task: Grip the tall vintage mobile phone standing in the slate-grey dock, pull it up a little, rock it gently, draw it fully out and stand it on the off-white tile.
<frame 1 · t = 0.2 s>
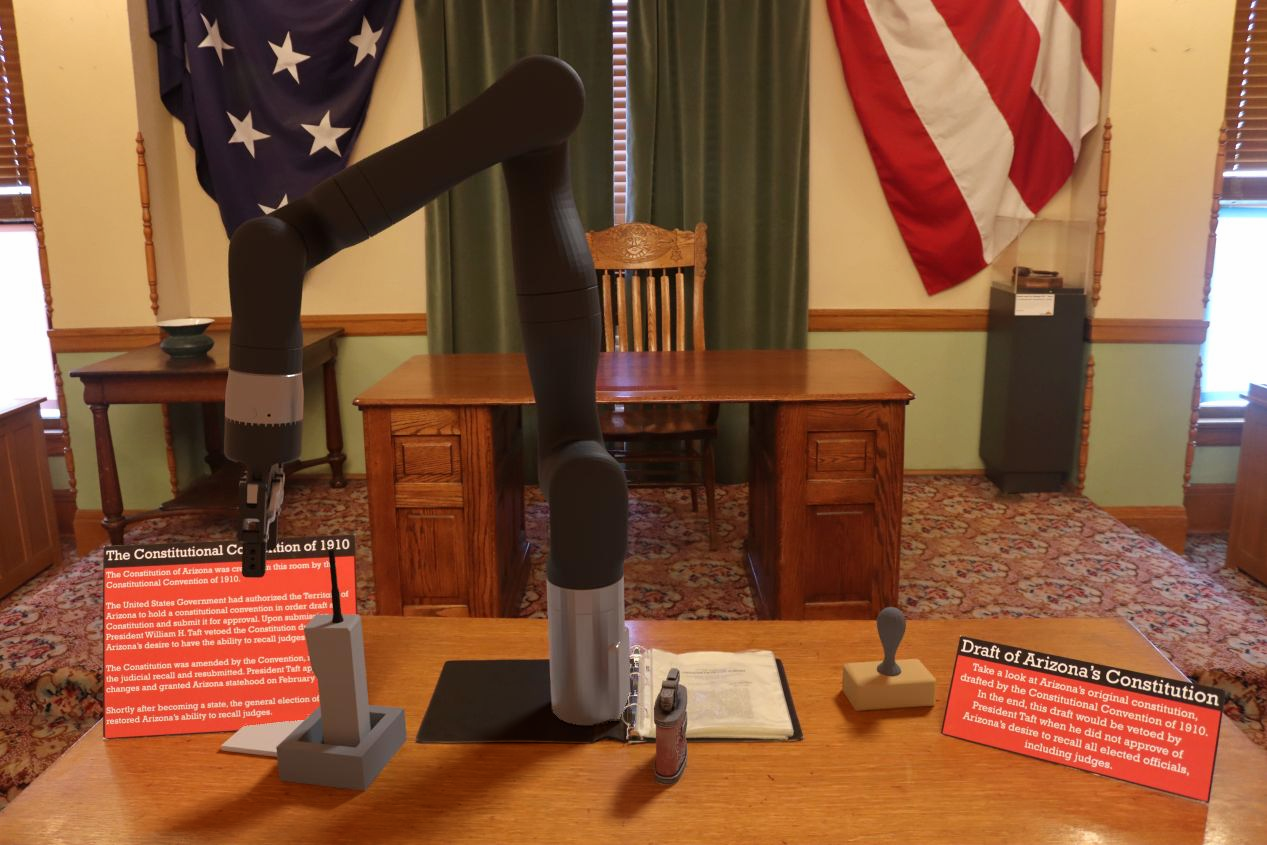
hand: (260, 562, 99), 24 cm above the table, tool pointing down, fingers open, 8 cm apart
lighter: (671, 765, 102), on the table
tile: (273, 735, 109), on the table
rubber stamp: (887, 699, 115), on the table
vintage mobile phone: (345, 761, 104), resting in dock
dock: (345, 759, 104), on the table
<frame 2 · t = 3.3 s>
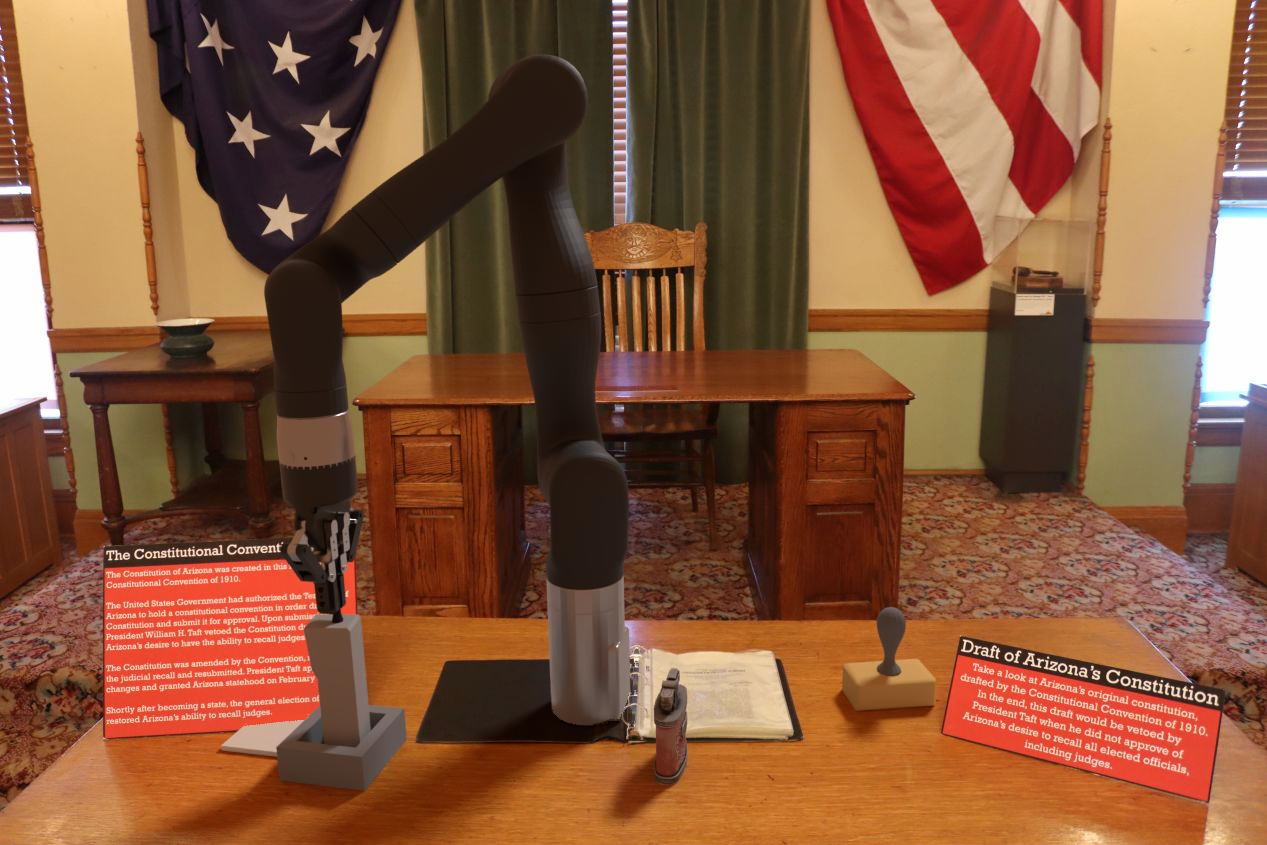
hand: (332, 609, 100), 18 cm above the table, tool pointing down, fingers closed on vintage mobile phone
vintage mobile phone: (345, 760, 104), resting in dock, touching gripper
everything else where it was.
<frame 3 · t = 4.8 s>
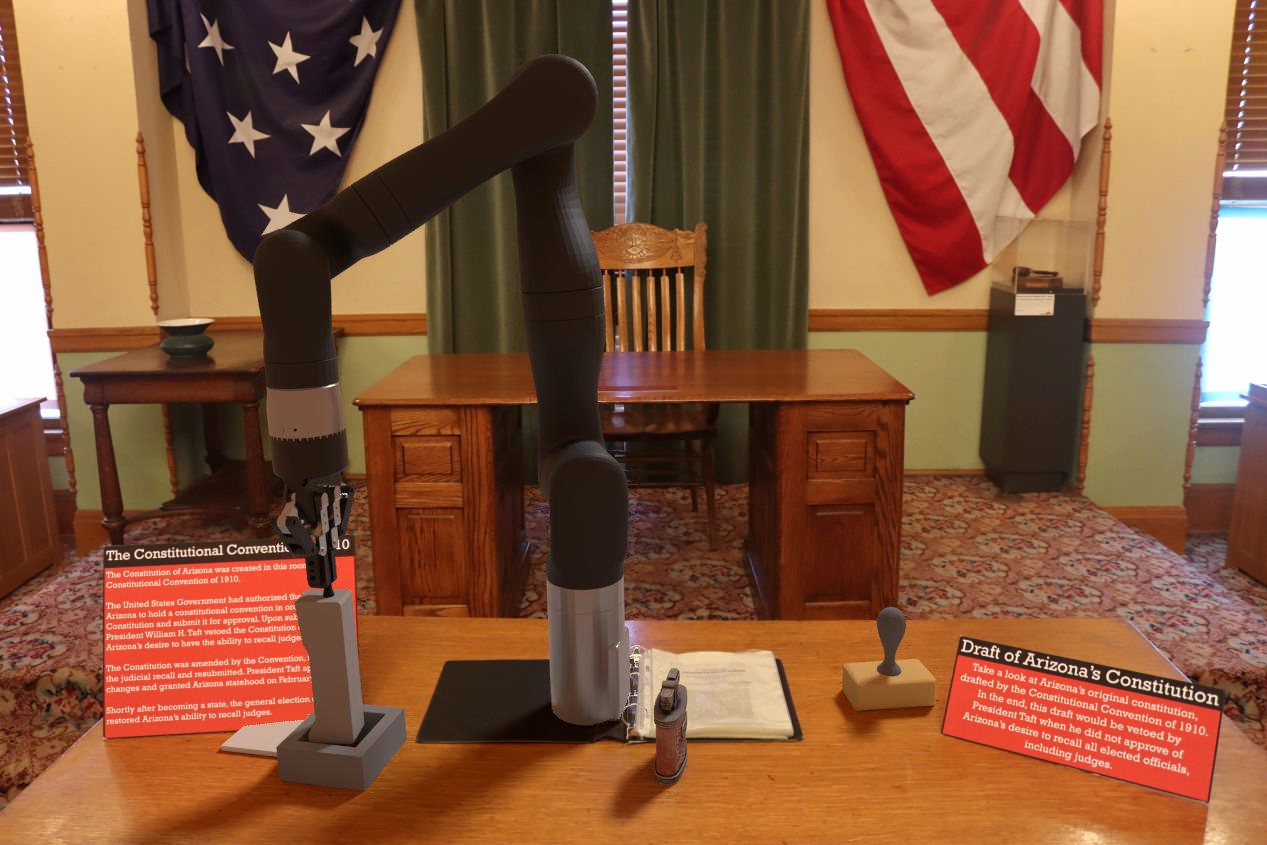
hand: (323, 583, 99), 21 cm above the table, tool pointing down, fingers closed on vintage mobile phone
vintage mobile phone: (337, 737, 103), point 3 cm above the table, touching gripper
everything else where it was.
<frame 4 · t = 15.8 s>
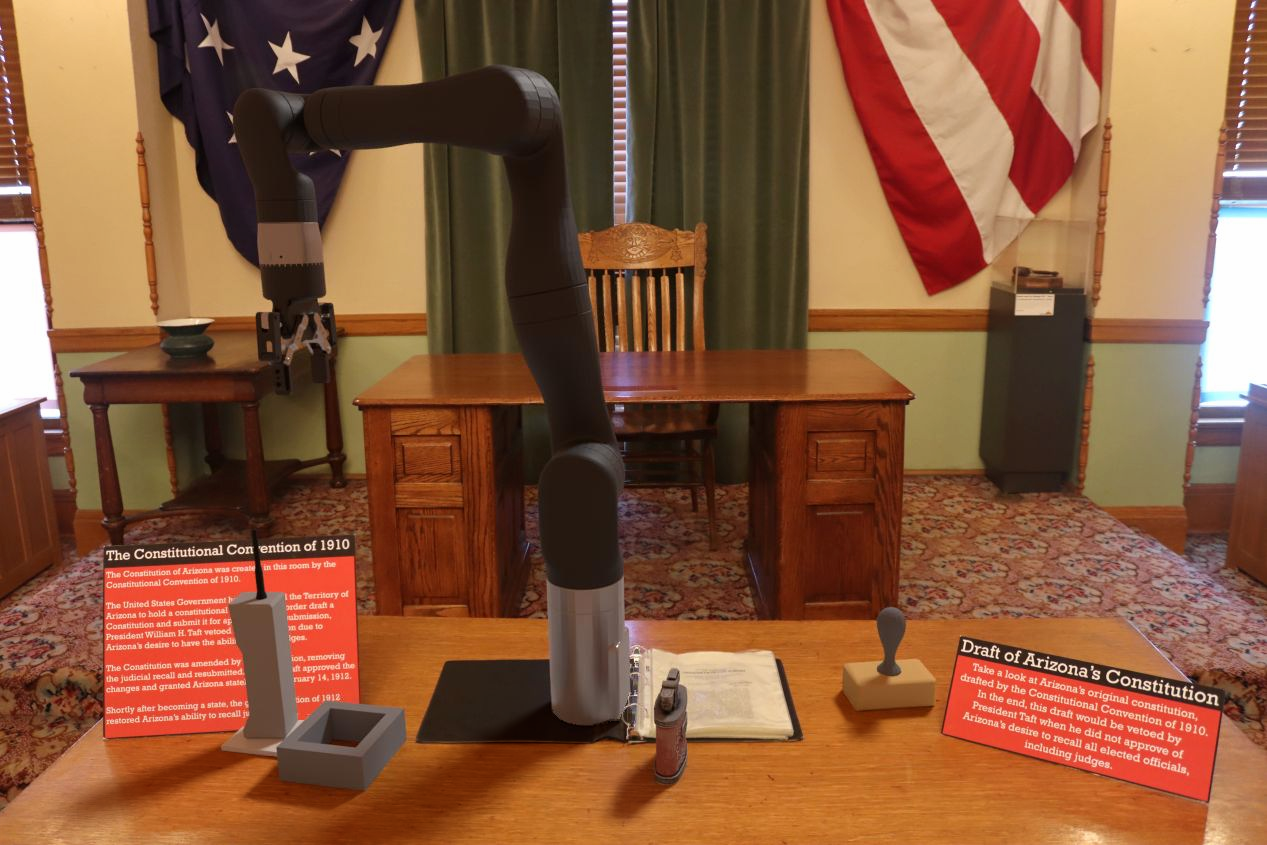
hand: (303, 388, 118), 38 cm above the table, tool pointing down, fingers open, 8 cm apart
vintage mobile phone: (271, 732, 109), resting on tile
everything else where it was.
at the end: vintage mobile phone 0.1 cm off-centre on the tile, point 0.4 cm above the tile's base; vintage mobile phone tilted 0°; the gripper is holding nothing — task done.
